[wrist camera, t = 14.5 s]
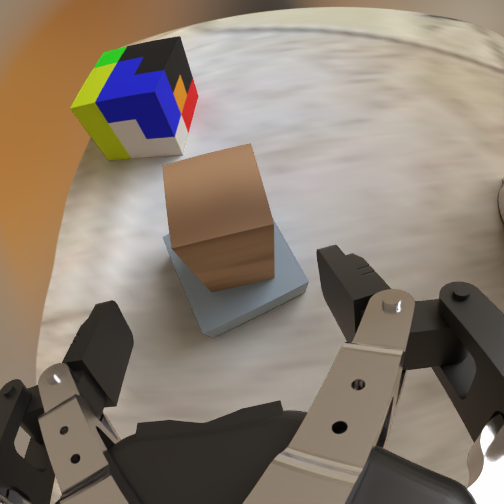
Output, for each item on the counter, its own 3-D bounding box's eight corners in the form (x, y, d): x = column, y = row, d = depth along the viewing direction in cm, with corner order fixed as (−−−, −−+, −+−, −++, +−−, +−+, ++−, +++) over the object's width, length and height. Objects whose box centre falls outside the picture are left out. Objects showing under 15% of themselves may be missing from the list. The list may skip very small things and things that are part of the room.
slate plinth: (176, 252, 30) (162, 237, 26) (260, 212, 31) (256, 191, 27) (213, 337, 27) (202, 334, 23) (305, 292, 28) (308, 281, 24)
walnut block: (200, 234, 26) (162, 165, 16) (259, 220, 26) (250, 143, 16) (211, 292, 24) (171, 248, 15) (274, 277, 24) (274, 223, 15)
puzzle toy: (183, 155, 34) (155, 91, 24) (108, 160, 35) (70, 108, 25) (198, 96, 37) (180, 36, 28) (131, 104, 38) (104, 52, 29)
